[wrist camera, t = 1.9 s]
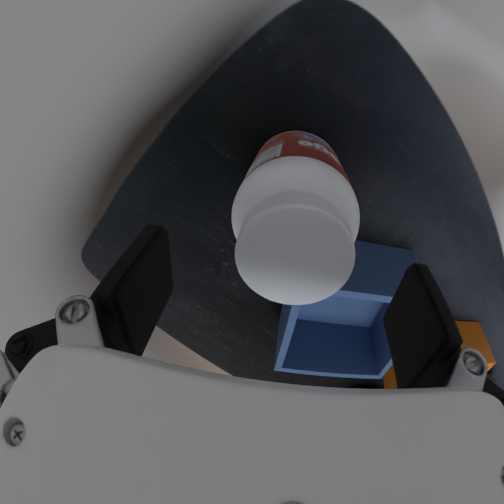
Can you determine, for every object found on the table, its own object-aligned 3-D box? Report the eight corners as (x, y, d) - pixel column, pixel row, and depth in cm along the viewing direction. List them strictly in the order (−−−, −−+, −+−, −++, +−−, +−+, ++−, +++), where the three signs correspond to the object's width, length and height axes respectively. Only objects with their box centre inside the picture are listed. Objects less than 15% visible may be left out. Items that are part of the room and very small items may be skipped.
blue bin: (298, 230, 22) (297, 283, 17) (410, 249, 22) (435, 301, 16) (279, 316, 28) (273, 370, 23) (372, 327, 28) (381, 379, 22)
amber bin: (417, 317, 26) (432, 366, 21) (478, 321, 25) (496, 362, 20) (381, 369, 32) (387, 412, 27) (439, 369, 31) (449, 407, 26)
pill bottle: (355, 177, 19) (402, 273, 10) (291, 223, 22) (284, 335, 13) (301, 111, 17) (309, 147, 8) (236, 165, 20) (184, 250, 11)
